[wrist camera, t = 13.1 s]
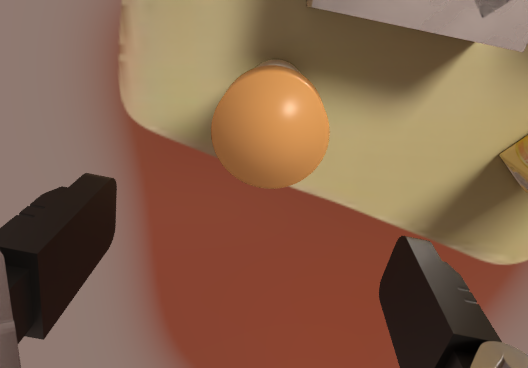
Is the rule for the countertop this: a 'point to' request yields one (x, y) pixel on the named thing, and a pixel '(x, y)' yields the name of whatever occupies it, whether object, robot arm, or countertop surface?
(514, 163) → the candy box
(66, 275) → the robot arm
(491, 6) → the housing
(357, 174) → the countertop surface
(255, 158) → the orange-capped white cylinder
